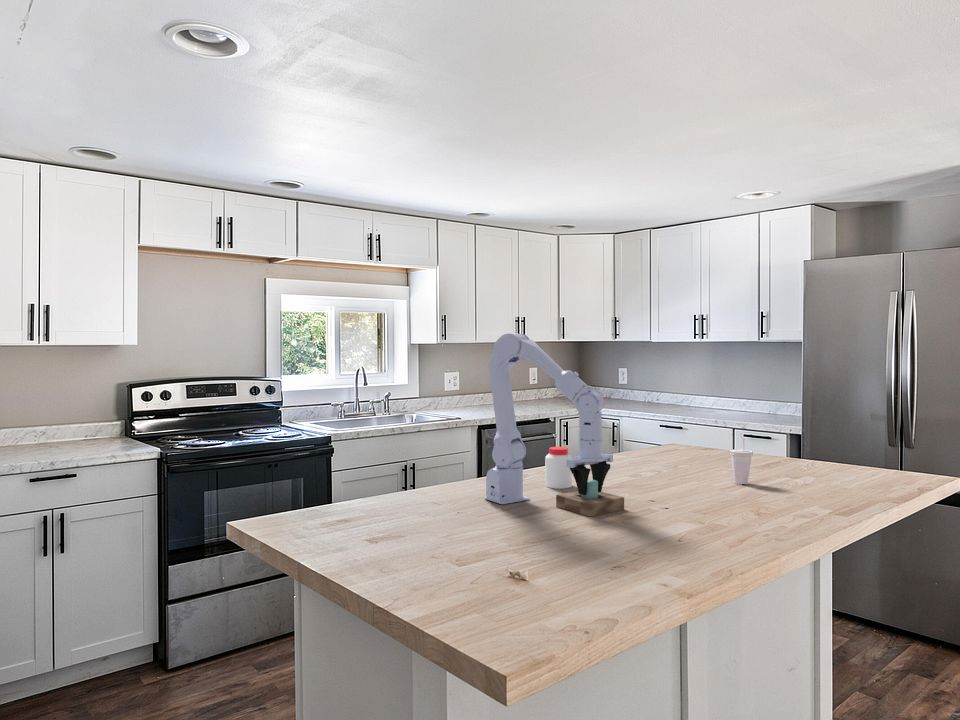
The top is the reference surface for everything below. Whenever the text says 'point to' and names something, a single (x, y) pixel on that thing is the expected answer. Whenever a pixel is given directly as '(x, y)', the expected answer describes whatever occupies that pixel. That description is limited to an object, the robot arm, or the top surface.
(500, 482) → the robot arm
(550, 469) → the pill bottle
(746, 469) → the smoothie
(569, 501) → the socket block
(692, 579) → the top surface
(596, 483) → the dowel
